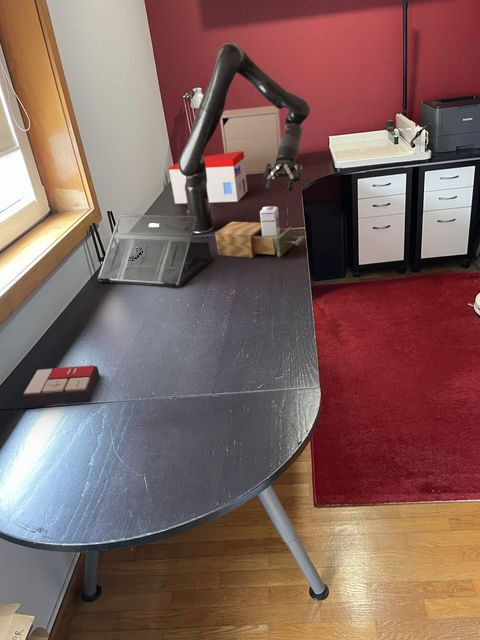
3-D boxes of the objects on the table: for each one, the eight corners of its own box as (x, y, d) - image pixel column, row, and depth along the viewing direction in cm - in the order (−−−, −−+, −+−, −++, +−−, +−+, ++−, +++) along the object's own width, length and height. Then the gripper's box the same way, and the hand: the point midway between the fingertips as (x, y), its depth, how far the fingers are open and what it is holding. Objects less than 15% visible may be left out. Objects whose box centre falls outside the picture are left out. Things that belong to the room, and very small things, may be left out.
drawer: (308, 246, 191) (307, 228, 188) (296, 258, 182) (294, 239, 178) (261, 242, 199) (259, 225, 196) (247, 254, 190) (245, 236, 186)
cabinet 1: (226, 176, 315) (219, 116, 298) (231, 166, 340) (224, 110, 323) (282, 171, 312) (278, 110, 295) (283, 162, 337) (279, 105, 320)
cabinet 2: (267, 245, 199) (265, 223, 195) (252, 257, 189) (250, 234, 184) (234, 242, 205) (232, 221, 201) (218, 255, 195) (215, 232, 190)
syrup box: (278, 249, 188) (275, 210, 181) (263, 249, 189) (259, 210, 182) (281, 244, 193) (278, 205, 185) (266, 244, 194) (262, 206, 187)
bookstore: (238, 201, 260) (233, 159, 250) (175, 203, 269) (167, 162, 258) (248, 191, 278) (243, 150, 267) (188, 193, 286) (182, 154, 275)
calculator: (86, 388, 116) (20, 393, 116) (90, 403, 118) (25, 408, 118) (97, 363, 125) (36, 367, 125) (100, 377, 128) (40, 381, 127)
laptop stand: (96, 283, 181) (82, 233, 172) (138, 255, 203) (128, 209, 194) (177, 289, 170) (167, 236, 161) (212, 258, 192) (205, 210, 183)
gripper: (267, 145, 191) (257, 184, 188) (303, 144, 185) (293, 184, 183) (274, 157, 198) (265, 194, 195) (308, 157, 192) (299, 195, 189)
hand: (278, 189), depth 189 cm, fingers open, 8 cm apart
